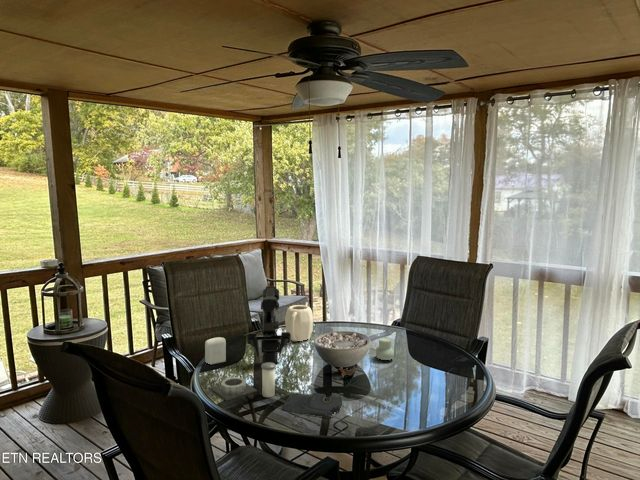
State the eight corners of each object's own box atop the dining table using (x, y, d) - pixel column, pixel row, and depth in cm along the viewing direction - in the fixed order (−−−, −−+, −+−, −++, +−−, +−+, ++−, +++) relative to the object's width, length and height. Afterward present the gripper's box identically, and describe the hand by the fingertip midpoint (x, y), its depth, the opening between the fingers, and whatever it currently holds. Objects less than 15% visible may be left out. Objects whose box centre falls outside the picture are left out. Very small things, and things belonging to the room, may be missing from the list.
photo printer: (224, 359, 221) (223, 335, 220) (227, 361, 218) (226, 337, 217) (203, 363, 216) (203, 338, 215) (206, 366, 212) (206, 340, 211)
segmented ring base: (240, 380, 195) (239, 373, 194) (257, 391, 184) (257, 383, 184) (210, 389, 186) (210, 381, 186) (226, 401, 175) (226, 392, 175)
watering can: (319, 333, 266) (319, 302, 264) (305, 347, 240) (305, 313, 238) (295, 331, 270) (295, 300, 268) (278, 344, 245) (278, 310, 243)
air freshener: (394, 363, 217) (395, 343, 217) (377, 362, 218) (378, 343, 217) (391, 355, 228) (391, 336, 227) (375, 355, 228) (375, 336, 228)
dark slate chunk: (293, 395, 182) (293, 384, 182) (345, 403, 175) (345, 391, 175) (279, 412, 167) (279, 400, 167) (335, 421, 161) (335, 408, 160)
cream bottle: (270, 390, 185) (270, 361, 184) (278, 395, 181) (278, 365, 180) (258, 394, 182) (258, 364, 180) (266, 399, 177) (266, 368, 176)
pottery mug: (355, 371, 208) (359, 359, 203) (351, 387, 200) (354, 375, 196) (331, 363, 210) (334, 351, 205) (325, 378, 202) (328, 366, 198)
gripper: (247, 314, 191) (245, 348, 181) (290, 314, 193) (291, 347, 183) (248, 327, 200) (246, 360, 190) (290, 326, 201) (290, 358, 191)
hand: (268, 356), depth 188 cm, fingers open, 9 cm apart
